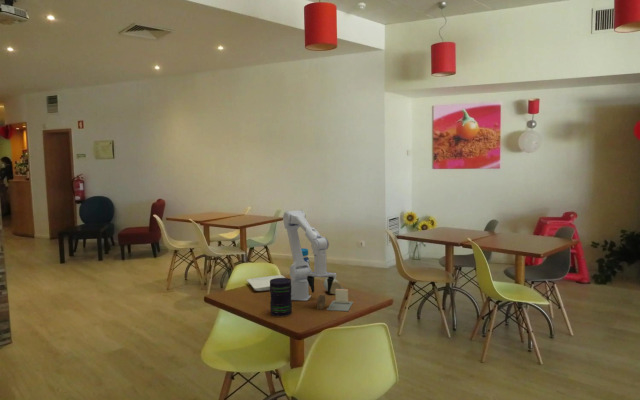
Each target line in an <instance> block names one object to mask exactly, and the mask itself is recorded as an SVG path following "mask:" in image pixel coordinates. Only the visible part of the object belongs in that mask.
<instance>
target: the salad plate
mask: <svg viewBox="0 0 640 400" xmlns="http://www.w3.org/2000/svg"><path fill="white" fill-rule="evenodd" d="M275 278H286V277H285V276H284V275H283V274H278V275H277V274H276V275H270V276H269V275H267V276H259V277H253V278H247V279H246V280H245V281H246V282H247V283H248V284H249V285H250V286H251V287H252V288H253V290H254V291H255V292H265V291H270V280H271V279H275Z"/></svg>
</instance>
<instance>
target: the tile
mask: <svg viewBox="0 0 640 400" xmlns="http://www.w3.org/2000/svg"><path fill="white" fill-rule="evenodd" d="M335 293H336V294H335V301H336V302H348V301H349V289H347V288H344V289H335Z"/></svg>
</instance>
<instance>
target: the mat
mask: <svg viewBox="0 0 640 400" xmlns="http://www.w3.org/2000/svg"><path fill="white" fill-rule="evenodd" d="M353 303H354V301H351V300H350V301H349V300H348V302H336V300H335V299H334V300H332V301H331V303H330V304H329V306H328V307H327V308H326V311H330V312H331V311H332V312H349V311H350V310H351V307H352V306H353Z"/></svg>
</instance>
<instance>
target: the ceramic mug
mask: <svg viewBox="0 0 640 400" xmlns="http://www.w3.org/2000/svg"><path fill="white" fill-rule="evenodd" d="M327 279H328V277H325V280H324V281H323V288H324V290H326V291H327V292H328V282H327ZM335 289H345V287H342V285H341V283H340V282H339V281H338V279H336V278H334V280H333V283H332V286H331V290H330V293H329V294H331V295H336V293H335Z"/></svg>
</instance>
